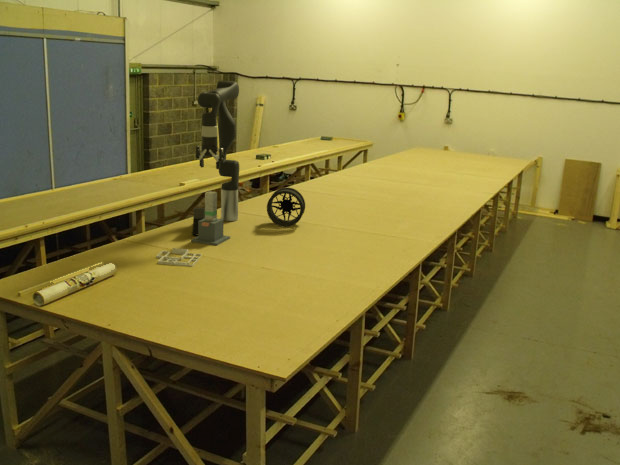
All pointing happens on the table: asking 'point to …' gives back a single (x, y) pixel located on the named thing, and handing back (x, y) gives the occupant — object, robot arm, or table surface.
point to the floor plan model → (175, 259)
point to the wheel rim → (286, 206)
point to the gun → (197, 218)
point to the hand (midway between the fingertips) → (209, 168)
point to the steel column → (211, 206)
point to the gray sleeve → (210, 232)
